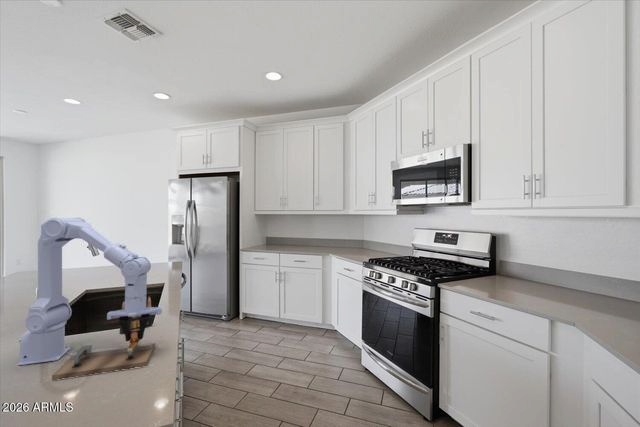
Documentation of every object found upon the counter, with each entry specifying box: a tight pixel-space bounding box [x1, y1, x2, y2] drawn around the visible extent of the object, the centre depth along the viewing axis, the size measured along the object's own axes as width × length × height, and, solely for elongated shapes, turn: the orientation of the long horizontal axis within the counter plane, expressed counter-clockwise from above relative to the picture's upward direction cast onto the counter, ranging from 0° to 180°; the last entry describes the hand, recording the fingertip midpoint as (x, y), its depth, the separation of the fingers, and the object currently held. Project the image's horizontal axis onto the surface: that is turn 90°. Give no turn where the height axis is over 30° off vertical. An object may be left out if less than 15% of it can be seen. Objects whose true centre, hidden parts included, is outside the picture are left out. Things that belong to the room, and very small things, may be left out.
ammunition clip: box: [119, 296, 153, 335], centre depth 110 cm, size 11×2×12 cm, turn 141°
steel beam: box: [68, 342, 153, 360], centre depth 87 cm, size 21×2×2 cm, turn 110°
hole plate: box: [51, 342, 156, 381], centre depth 85 cm, size 22×13×2 cm, turn 110°
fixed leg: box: [73, 344, 93, 367], centre depth 82 cm, size 2×7×3 cm, turn 20°
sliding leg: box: [128, 329, 142, 359], centre depth 87 cm, size 3×7×6 cm, turn 21°
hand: (134, 339), depth 89 cm, fingers open, 3 cm apart
